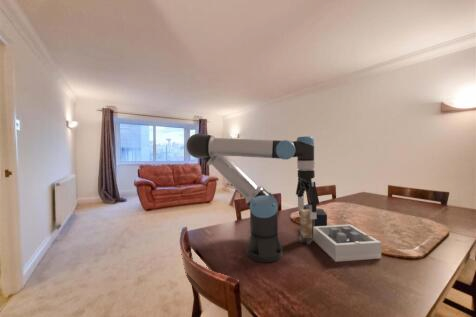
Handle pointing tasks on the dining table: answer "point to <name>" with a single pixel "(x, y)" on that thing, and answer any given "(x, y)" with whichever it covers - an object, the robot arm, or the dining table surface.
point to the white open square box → (347, 245)
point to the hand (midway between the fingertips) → (306, 214)
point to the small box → (320, 218)
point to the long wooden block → (305, 226)
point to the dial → (343, 235)
